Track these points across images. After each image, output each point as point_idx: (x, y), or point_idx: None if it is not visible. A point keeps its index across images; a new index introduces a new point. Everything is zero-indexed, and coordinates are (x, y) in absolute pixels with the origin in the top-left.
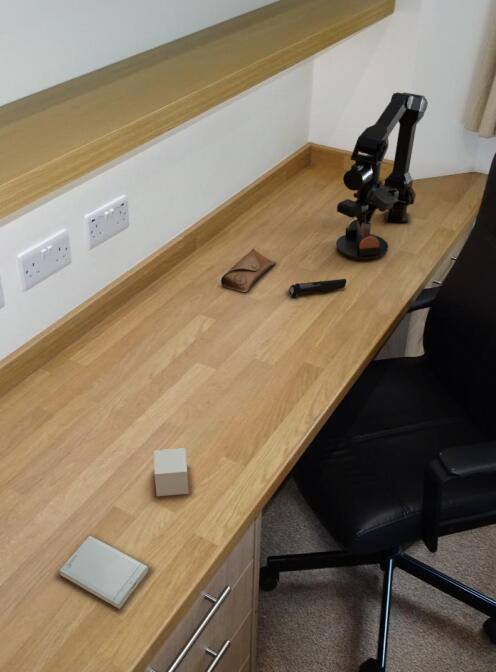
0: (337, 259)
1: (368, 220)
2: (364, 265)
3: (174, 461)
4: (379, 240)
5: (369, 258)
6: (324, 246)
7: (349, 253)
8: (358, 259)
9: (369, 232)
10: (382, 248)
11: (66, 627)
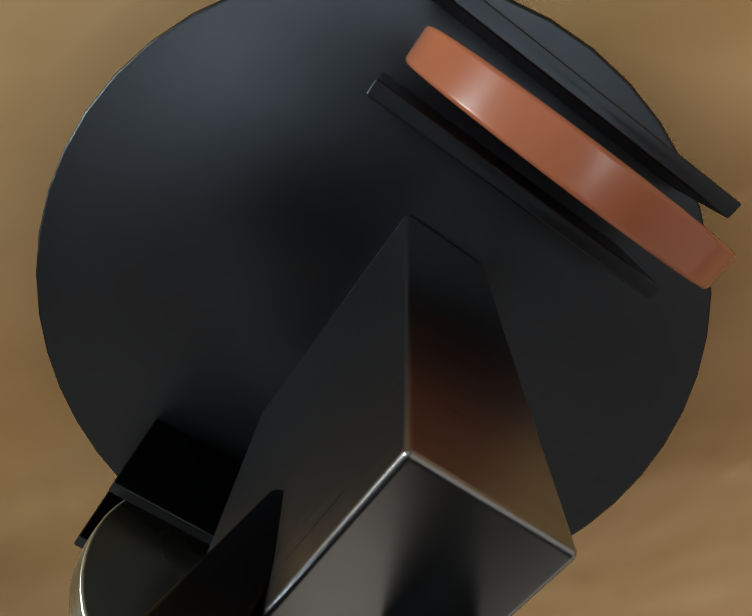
0: (729, 371)
1: (253, 608)
2: (672, 55)
3: None
4: (105, 253)
5: (596, 53)
6: (566, 588)
7: (672, 322)
8: None
9: (426, 334)
10: (244, 81)
11: None
